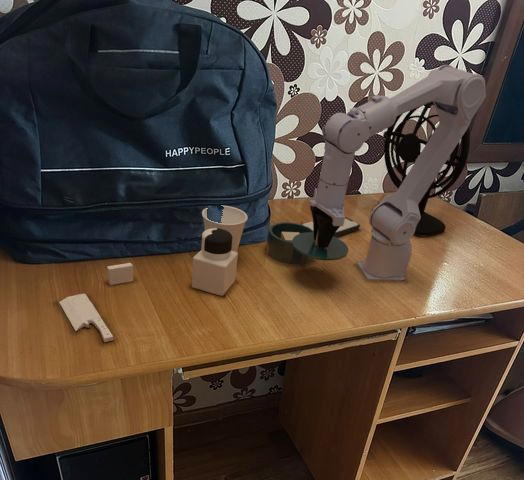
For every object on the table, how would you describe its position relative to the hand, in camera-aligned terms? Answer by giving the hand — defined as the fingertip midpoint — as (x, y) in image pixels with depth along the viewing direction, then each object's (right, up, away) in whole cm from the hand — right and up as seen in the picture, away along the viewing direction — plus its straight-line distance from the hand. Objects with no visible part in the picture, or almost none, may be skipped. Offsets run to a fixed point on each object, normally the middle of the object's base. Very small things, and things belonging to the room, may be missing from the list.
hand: (320, 243), depth 108 cm
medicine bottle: (-23, -9, -1) cm, 25 cm away
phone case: (+6, +10, +29) cm, 31 cm away
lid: (0, -1, 0) cm, 1 cm away
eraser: (-42, -9, -4) cm, 43 cm away
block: (-6, 0, +14) cm, 15 cm away
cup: (-22, -2, +8) cm, 24 cm away
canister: (-6, 0, +14) cm, 15 cm away
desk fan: (+30, +15, +40) cm, 52 cm away
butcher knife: (-45, -18, -16) cm, 51 cm away
